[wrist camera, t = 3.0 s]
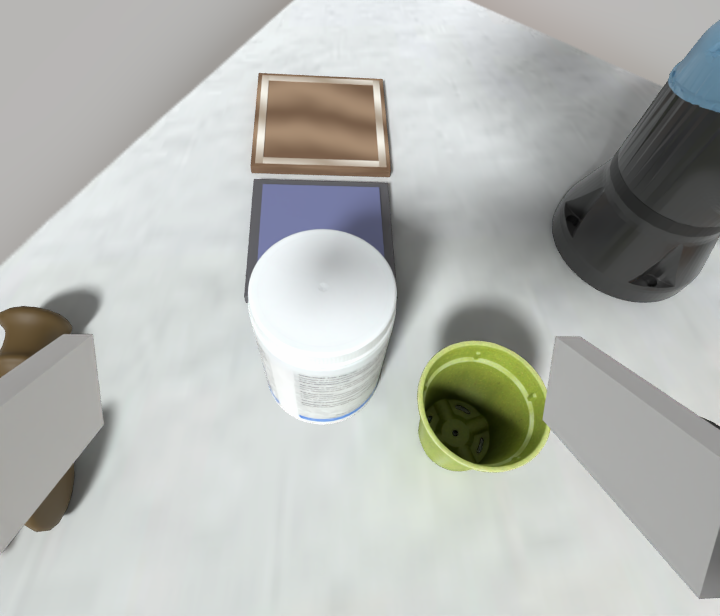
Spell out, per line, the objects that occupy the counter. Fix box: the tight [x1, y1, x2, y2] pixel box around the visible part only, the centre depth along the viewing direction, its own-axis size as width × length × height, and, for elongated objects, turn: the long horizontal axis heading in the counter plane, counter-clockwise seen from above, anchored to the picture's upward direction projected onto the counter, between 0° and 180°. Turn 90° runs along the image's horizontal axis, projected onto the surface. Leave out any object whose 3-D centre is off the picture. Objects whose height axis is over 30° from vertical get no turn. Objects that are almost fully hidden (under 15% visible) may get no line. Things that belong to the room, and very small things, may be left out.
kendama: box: [0, 306, 74, 532], centre depth 36 cm, size 6×10×20 cm
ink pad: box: [244, 179, 396, 303], centre depth 49 cm, size 14×14×2 cm
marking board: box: [251, 73, 391, 177], centre depth 57 cm, size 15×15×1 cm
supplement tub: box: [248, 229, 397, 424], centre depth 37 cm, size 10×10×15 cm
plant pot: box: [417, 341, 550, 472], centre depth 38 cm, size 9×9×9 cm
